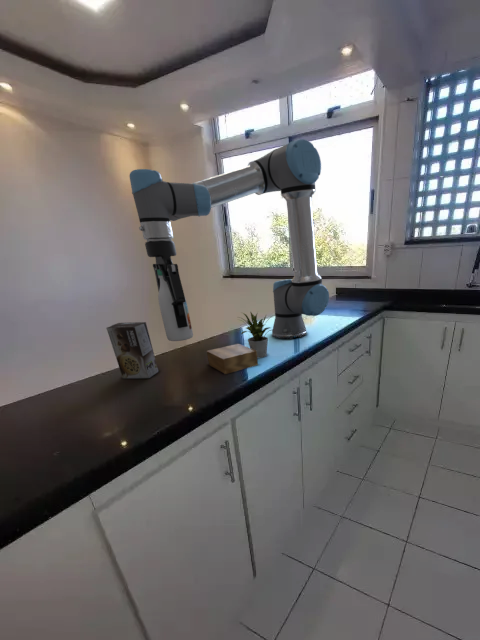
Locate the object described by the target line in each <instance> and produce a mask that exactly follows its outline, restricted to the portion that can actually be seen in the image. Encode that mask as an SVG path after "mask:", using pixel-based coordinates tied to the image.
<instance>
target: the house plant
mask: <svg viewBox="0 0 480 640" xmlns="http://www.w3.org/2000/svg"><path fill="white" fill-rule="evenodd" d="M240 313H241V314H243V315H244V317H245V318H246V319H244V318H242V319H241V317H239V316H238V318H239V319H240V322H243V323H244V324H246V325H247V326H246V327H245V329H247V330H242V329H240V328H239V329H236V330H237V331H240V330H241V331H242V332H241V333H240V335H243V334H245V333H250V334H251V336H252V337H251V336H250V337H249V338H248V339H247V342H248V345H249V348H251V349H253V350H256V351H257V359H262V358H265V357H267V354H268V343H269V342H268V341H269V339H268V337H267V336H266V334H267V333H269V332H272V329H271V327H265V326H267V325H266V324H267V322H268V321H269V320H270V319H271V318H272V317H273V316H274V317H275V314H272V315H271V316H269V318H267V315H265V316H264V318H261V319H260V320H259V321H258V320H257V319H258V318H257V317H258V312H257V313H256V314H255V315H254V314H253V313H252V311H250V318H251V320H250V318H249V316H248V315H247V314H245V312H240ZM266 318H267V320H266ZM265 320H266V321H265ZM269 329H270V330H269ZM267 330H268V331H267ZM266 332H267V333H266ZM264 333H265V334H264Z"/></svg>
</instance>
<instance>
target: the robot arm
mask: <svg viewBox="0 0 480 640" xmlns="http://www.w3.org/2000/svg"><path fill="white" fill-rule="evenodd" d="M321 173H322V162H321V156H320V153H319V152H318V149H317V148H316V147H315V146H314V144H313V143H312V142H311V141H309V140H307V139H304V138H299V139H296V140H291V141H290V142H288V143H287V144H284V145H282V146H279V147H278V148H275V149H273V150H272V151H270V152H267V153H266V154H264V155H263V156H261V157H259V158H257V159H256V160H251V161H248V163H247V166H245V167H242V168H237V169H234V170H232V171H229V172H225V173H221V174H218V175H214V176H212V177H209V178H205V179H202V180H199V181H195V182H192V183H185V182H169V181H164V180H163V178H162V174H161V173H160V171H157V170H154V169H149V168H137V169H132V170H131V171H130V172H129V182H130V188H131V194H132V197H133V201H134V204H135V208H136V212H137V216H138V220H139V224H140V226H139V227H138V229H139V231H141V233H142V237H143V240H145V241H146V242H145V243H144V246H145V250H146V255H147V256H148V257H149V258H154V259H155V263H152V268H153V271H154V276H155V281H156V285H157V286H156V287H157V291H158V293H159V289H160V278H159V276H158V273H157V270H158V269H159V270H160V271H161V272H162V275H160V276H163V279H164V281H166V282H167V285H168V288H169V291H170V293H171V296H172V299H173V303H172V305H173V308H174V312H175V317H176V321H177V326H178V328H182V327H187V326H188V325H187V320H186V315H185V310H184V306H183V304H184V302H186V303H187V300H186V299H187V298H186V296H185V292H184V289H183V286H182V285H183V284H182V281H181V277H180V276H181V275H180V272H179V265H178V264H177V263H173V260H172V257H175V256H177V250H176V249H177V248H176V243H175V242H174V241H173V239H174V238H175V237H174V233H173V228H172V223H171V222H175V221H178V220H181V219H185V218H189V217H207V216H209V214H210V213H211V210H212V208H216V207H218V206H221V205H224V204H227V203H229V202H232V201H236V200H239V199H242V198H245V197H247V196H251V195H254V194H255V195H257V196H261V195H263V194H267V193H273V192H275V193H276V192H280V195H281V197H282V198H283V199H284V200H285V202H286V209H287V210H286V211H287V218H288V226H289V237H290V246H291V255H292V263H293V273H294V276H293V277H292V278H288V279H281V280H276V281H274V283H273V285H272V286H273V287H272V293H273V305H274V306H273V307H274V317H275V318H274V321H273V322H274V323H273V326H272V328H271V334H272V335H271V336H272V337H273V338H276V339H282V340H291V339H299V338H302V337H306V336H307V327H306V325H305V322H304V319H303V315H305V316H308V317H310V316H311V317H316V316H320V315H321V314H323V313H324V311H325V310H326V309H327V307H328V305H329V303H330V293H329V290H328V288H327V287H326V285H324V284H323V277H322V276H321V275H320V274H319V273H318V265H317V252H316V238H315V226H314V225H315V224H314V213H313V199H312V198H313V196H314V194H315V193H316V183H317V181H318V179H319V176H321ZM166 276H167V277H166ZM168 276H169V277H168Z"/></svg>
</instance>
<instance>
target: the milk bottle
mask: <svg viewBox="0 0 480 640" xmlns="http://www.w3.org/2000/svg"><path fill="white" fill-rule="evenodd" d="M157 273H158V276H159V278H160V289H159V292H158V295H157V296H158V306H159V311H160V315H161V320H162V323H163V327H164V332H165V336H166V340H167V341H169V342H181V341H187V340H191V339H192V338H193V337H194V331H193V328H192V322H191V317H190V312H189V308H188V303H187V301H186V302H184V304H183V306H184V310H185V315H186V320H187V325H188V326H187V327H182V328H178V326H177V321H176V317H175V312H174V308H173V305H172V303H173V299H172V296H171V293H170V291H169V288H168V285H167V282H166V281H164V279H163V276H160V275H162V272H161V271H160V270H159V269H158V270H157ZM166 277H167V276H166ZM168 277H169V276H168Z"/></svg>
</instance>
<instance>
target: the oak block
mask: <svg viewBox="0 0 480 640" xmlns="http://www.w3.org/2000/svg"><path fill="white" fill-rule="evenodd" d="M206 355H207V362H208V365H209V366H210V367H211V368H214V369H215V370H217V371H219V372H221V373H222V374H224V375H228V374H231V373H235V372H238V371H242V370H245V369H249V368H252V367H256V366H258V365H259V363H258V362H259V361H258V358H257V351H256V350H253V349H251V348H250V347H248V346H245V345H243V344H240V343H234V344H231V345H227V346H223V347H222V346H221V347H218V348H214V349H209V350H206Z"/></svg>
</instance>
